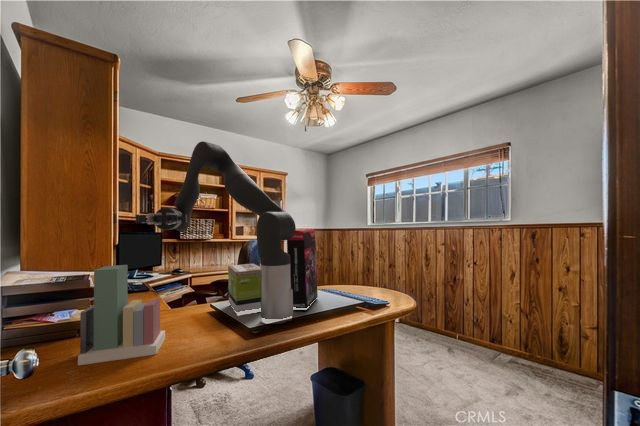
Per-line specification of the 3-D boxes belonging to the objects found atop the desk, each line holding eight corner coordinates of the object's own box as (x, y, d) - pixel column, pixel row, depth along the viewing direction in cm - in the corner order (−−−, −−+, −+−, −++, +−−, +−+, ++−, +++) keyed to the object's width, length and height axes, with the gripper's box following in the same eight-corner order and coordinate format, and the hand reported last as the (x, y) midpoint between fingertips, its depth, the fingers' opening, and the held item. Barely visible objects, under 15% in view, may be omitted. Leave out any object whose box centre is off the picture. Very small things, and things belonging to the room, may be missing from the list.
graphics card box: (307, 312, 95) (305, 230, 96) (287, 311, 96) (285, 230, 97) (318, 298, 112) (316, 228, 113) (300, 298, 113) (299, 229, 114)
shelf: (165, 338, 76) (165, 296, 76) (156, 354, 66) (156, 306, 67) (97, 346, 71) (98, 302, 72) (77, 365, 62) (78, 313, 62)
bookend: (100, 339, 71) (101, 302, 71) (85, 353, 63) (85, 312, 64) (96, 340, 71) (96, 303, 71) (80, 354, 63) (80, 312, 63)
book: (127, 336, 72) (127, 264, 73) (117, 347, 66) (117, 268, 66) (106, 339, 71) (106, 265, 72) (93, 350, 64) (94, 270, 65)
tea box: (227, 305, 105) (227, 265, 106) (255, 301, 110) (254, 262, 110) (236, 317, 92) (235, 270, 92) (266, 312, 96) (266, 268, 97)
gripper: (145, 208, 100) (130, 205, 84) (190, 208, 104) (183, 205, 89) (145, 230, 99) (130, 231, 84) (190, 229, 104) (183, 230, 88)
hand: (157, 218), depth 86 cm, fingers open, 8 cm apart
